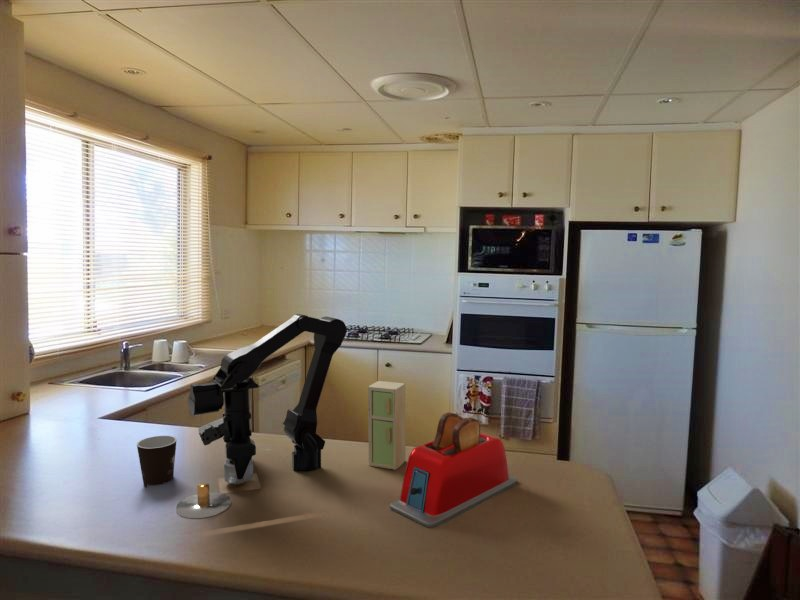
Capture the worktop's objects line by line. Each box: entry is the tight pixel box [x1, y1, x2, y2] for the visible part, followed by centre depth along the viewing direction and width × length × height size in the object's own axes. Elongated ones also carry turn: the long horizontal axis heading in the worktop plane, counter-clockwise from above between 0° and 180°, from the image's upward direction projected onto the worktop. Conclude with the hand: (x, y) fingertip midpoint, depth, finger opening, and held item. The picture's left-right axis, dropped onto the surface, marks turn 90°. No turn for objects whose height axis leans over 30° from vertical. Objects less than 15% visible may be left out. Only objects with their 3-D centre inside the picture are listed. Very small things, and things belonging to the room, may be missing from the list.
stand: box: [217, 472, 262, 494], centre depth 129 cm, size 9×9×5 cm
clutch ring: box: [223, 457, 254, 484], centre depth 129 cm, size 6×6×4 cm
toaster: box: [389, 412, 518, 528], centre depth 125 cm, size 32×13×19 cm, turn 135°
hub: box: [175, 482, 232, 519], centre depth 118 cm, size 11×11×5 cm
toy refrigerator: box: [367, 380, 407, 471], centre depth 142 cm, size 8×7×21 cm
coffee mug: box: [136, 435, 178, 488], centre depth 132 cm, size 12×9×10 cm
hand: (238, 473), depth 129 cm, fingers closed on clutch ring, 6 cm apart
